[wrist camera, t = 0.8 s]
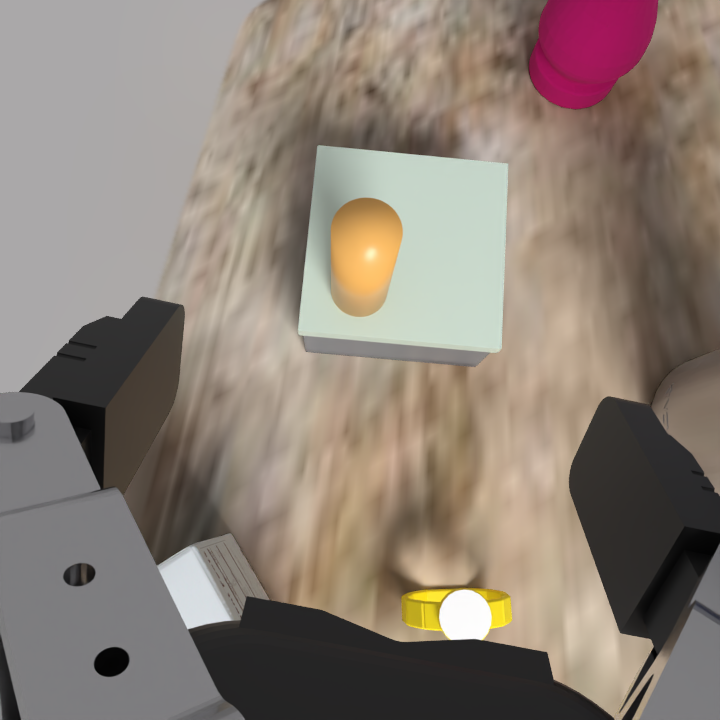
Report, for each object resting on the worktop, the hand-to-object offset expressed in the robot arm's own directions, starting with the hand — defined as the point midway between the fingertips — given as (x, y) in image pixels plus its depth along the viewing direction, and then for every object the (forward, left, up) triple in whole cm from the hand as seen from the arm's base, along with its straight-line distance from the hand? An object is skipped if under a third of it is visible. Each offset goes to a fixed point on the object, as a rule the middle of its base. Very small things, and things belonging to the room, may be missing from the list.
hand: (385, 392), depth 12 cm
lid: (-2, -13, -25) cm, 28 cm away
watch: (-7, +7, -29) cm, 31 cm away
